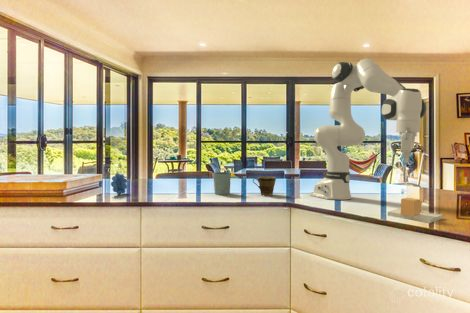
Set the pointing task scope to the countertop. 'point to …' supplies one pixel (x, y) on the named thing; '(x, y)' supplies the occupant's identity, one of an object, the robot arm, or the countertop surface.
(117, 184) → the grapes
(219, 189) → the grey green pot
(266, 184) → the ceramic cup
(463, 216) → the countertop surface
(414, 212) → the orange-brown wooden block
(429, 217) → the plate
